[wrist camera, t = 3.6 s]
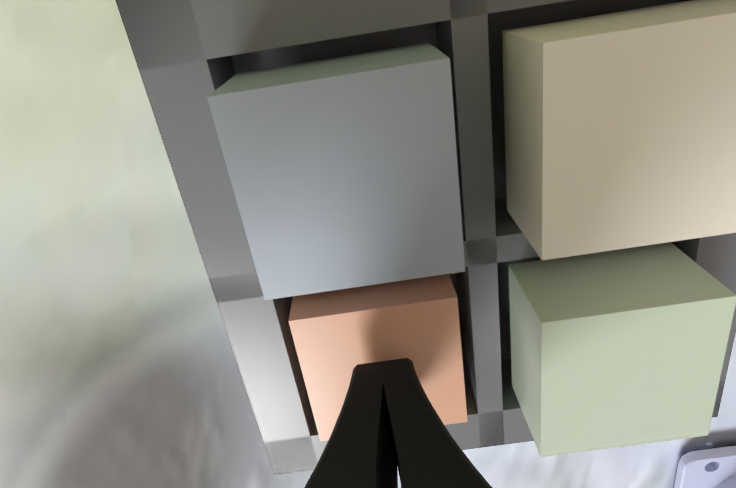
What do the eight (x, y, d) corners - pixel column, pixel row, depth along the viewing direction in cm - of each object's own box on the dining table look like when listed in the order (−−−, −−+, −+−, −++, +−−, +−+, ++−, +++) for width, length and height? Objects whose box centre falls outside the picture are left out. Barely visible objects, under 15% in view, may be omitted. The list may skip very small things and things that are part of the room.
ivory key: (701, -2, 10) (799, 2, 8) (676, 184, 12) (750, 230, 10) (502, 30, 10) (543, 43, 8) (507, 210, 12) (541, 260, 10)
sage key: (669, 241, 13) (737, 295, 11) (653, 366, 15) (707, 435, 12) (508, 264, 13) (542, 323, 11) (511, 385, 15) (540, 457, 12)
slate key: (428, 42, 10) (450, 57, 8) (444, 219, 12) (465, 271, 10) (236, 73, 11) (206, 96, 8) (279, 244, 12) (264, 300, 10)
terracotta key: (440, 248, 14) (457, 297, 12) (451, 361, 16) (467, 422, 14) (297, 269, 14) (288, 321, 12) (324, 378, 16) (320, 441, 14)
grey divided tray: (738, -105, 11) (834, -127, 9) (669, 360, 17) (717, 416, 15) (158, -8, 12) (113, -5, 9) (284, 412, 18) (274, 474, 15)
